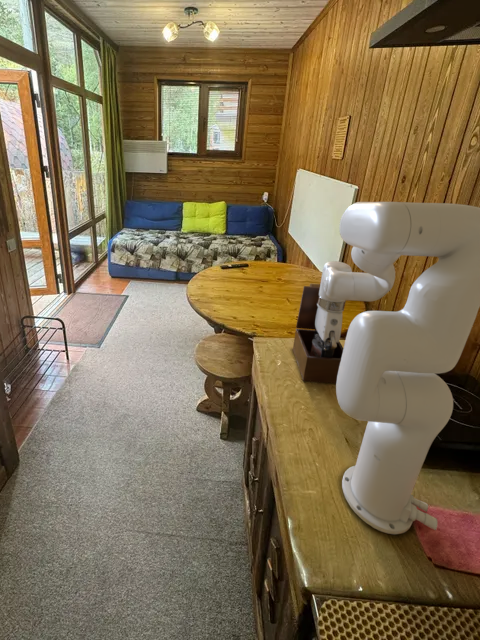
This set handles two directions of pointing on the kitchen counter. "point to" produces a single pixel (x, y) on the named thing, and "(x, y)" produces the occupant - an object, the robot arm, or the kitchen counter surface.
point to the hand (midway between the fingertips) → (321, 351)
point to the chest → (315, 359)
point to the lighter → (317, 346)
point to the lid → (308, 307)
